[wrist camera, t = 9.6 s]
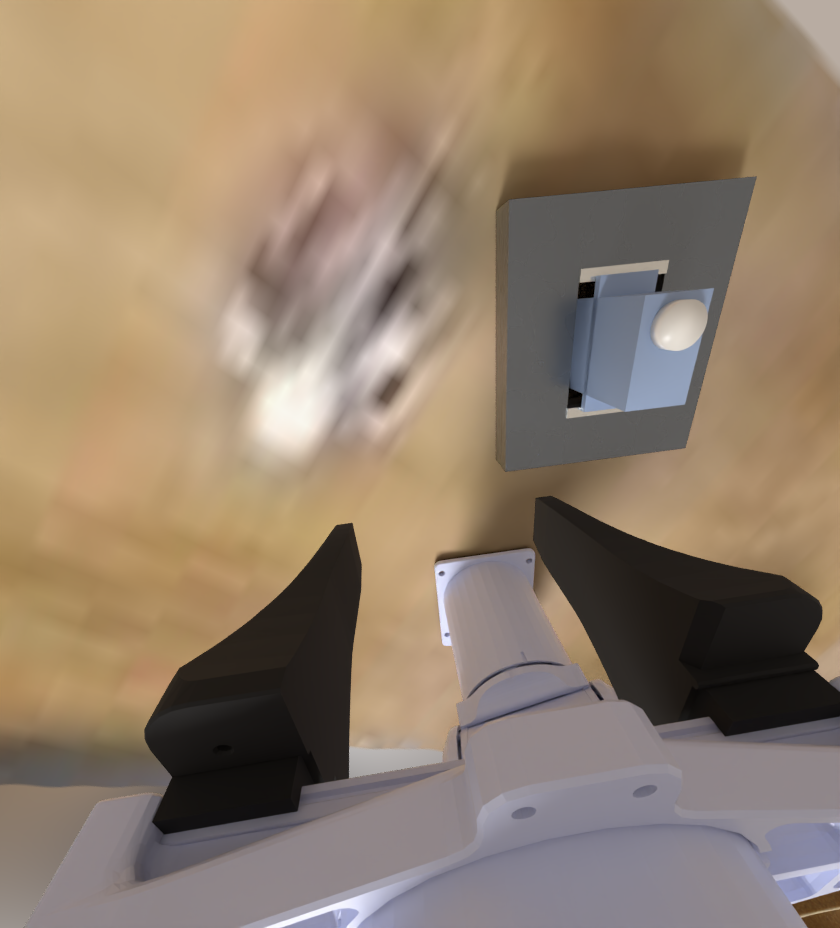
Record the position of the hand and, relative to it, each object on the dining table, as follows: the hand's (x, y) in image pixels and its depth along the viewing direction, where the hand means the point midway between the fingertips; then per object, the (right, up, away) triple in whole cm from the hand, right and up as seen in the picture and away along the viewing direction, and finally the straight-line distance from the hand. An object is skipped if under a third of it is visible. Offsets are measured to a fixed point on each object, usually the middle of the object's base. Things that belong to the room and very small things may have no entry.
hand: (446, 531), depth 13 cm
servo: (+9, +10, +7) cm, 16 cm away
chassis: (+9, +10, +7) cm, 16 cm away
